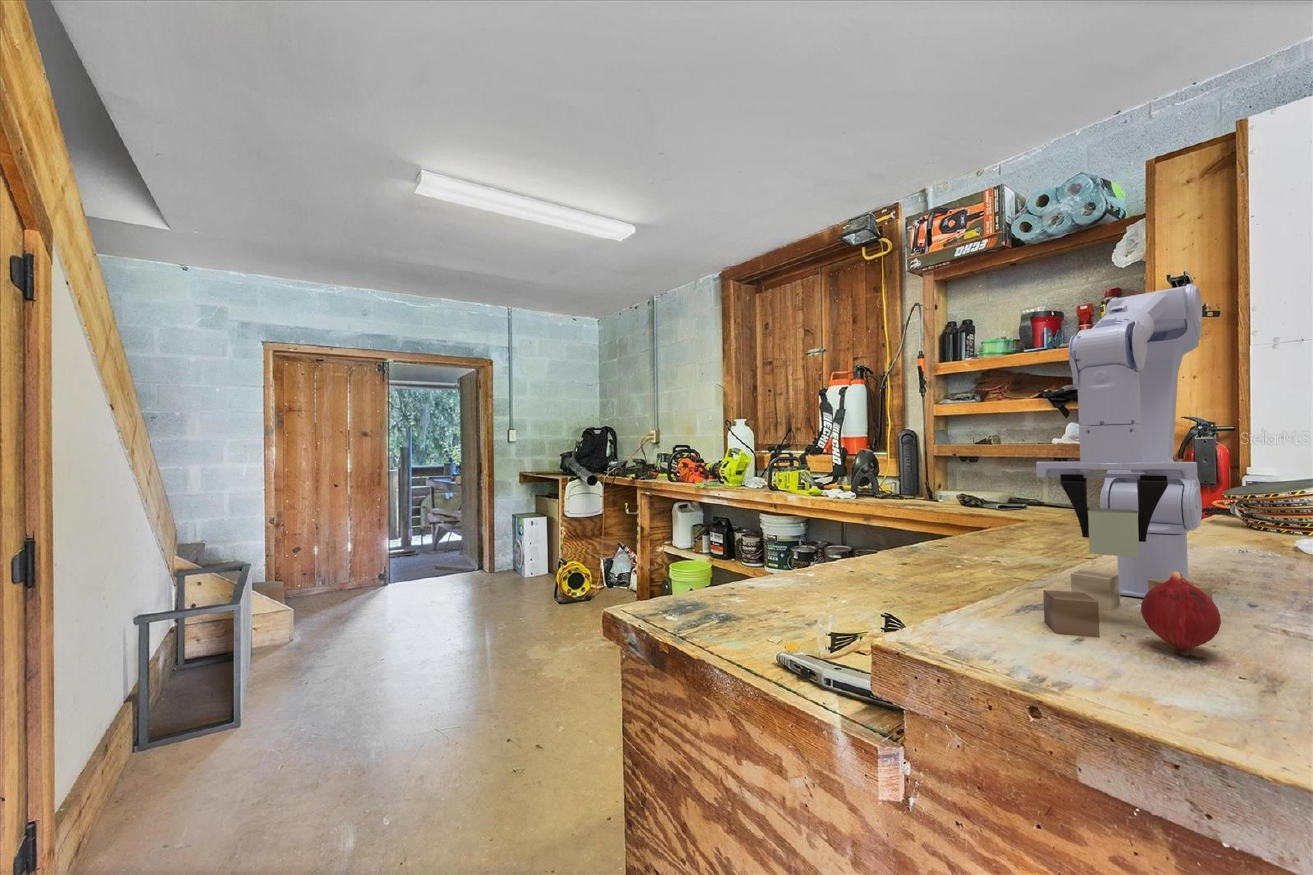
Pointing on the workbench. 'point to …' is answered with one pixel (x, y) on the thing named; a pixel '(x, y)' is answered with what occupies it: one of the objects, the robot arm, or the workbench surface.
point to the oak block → (1205, 589)
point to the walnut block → (1071, 613)
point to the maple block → (1097, 587)
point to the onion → (1180, 613)
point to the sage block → (1113, 532)
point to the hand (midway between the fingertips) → (1113, 538)
